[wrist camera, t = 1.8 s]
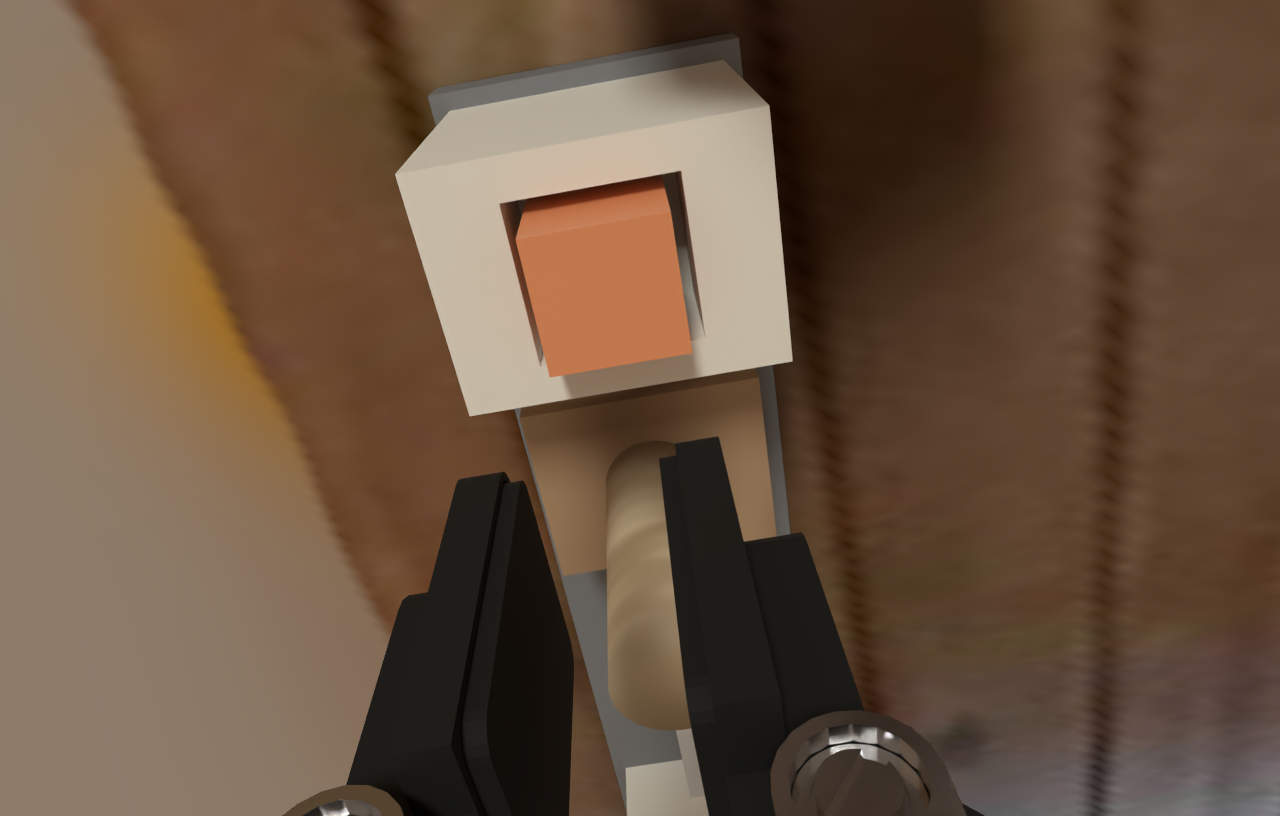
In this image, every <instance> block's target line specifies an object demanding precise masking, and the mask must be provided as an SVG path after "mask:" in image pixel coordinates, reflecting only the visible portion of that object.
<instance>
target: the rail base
mask: <svg viewBox="0 0 1280 816" xmlns="http://www.w3.org/2000/svg"><path fill="white" fill-rule="evenodd" d="M428 99H429V102H430V106H431V110H432V113H433V117H434V120H435V124H436V127H435V129H434V130H433V131H432V132H431V133H430V134H429V135H428V137H427V138H426V139H425V140H424V141H423V142H422V144H421V145H420V146H419V147H418V148H417V149H416V151H415V152H414V153H413V154H412V155H411V156H410V158H409V159H408V160H407V161H406V162H405V163H404V165H403V166H402V167H401V168H400V169H399V170H398V171H397V173H396V174H395V176H396V179H397V182H398V186H399V189H400V192H401V195H402V198H403V202H404V205H405V208H406V211H407V215H408V218H409V221H410V224H411V228H412V231H413V234H414V237H415V241H416V244H417V247H418V250H419V254H420V257H421V260H422V263H423V266H424V270H425V273H426V276H427V279H428V283H429V286H430V289H431V292H432V296H433V299H434V302H435V305H436V309H437V312H438V315H439V318H440V322H441V325H442V328H443V331H444V334H445V338H446V341H447V344H448V347H449V351H450V354H451V357H452V360H453V364H454V367H455V370H456V373H457V377H458V380H459V383H460V386H461V390H462V393H463V396H464V399H465V402H466V406H467V409H468V412H469V415H470V416H474V415H480V414H486V413H492V412H498V411H503V410H509V409H515V412H516V416H517V419H518V423H519V427H520V430H521V434H522V437H523V441H524V445H525V448H526V452H527V455H528V459H529V463H530V466H531V470H532V473H533V477H534V481H535V484H536V488H537V491H538V495H539V499H540V502H541V506H542V509H543V513H544V517H545V520H546V524H547V527H548V531H549V535H550V538H551V542H552V545H553V549H554V553H555V556H556V560H557V563H558V567H559V571H560V574H561V578H562V581H563V585H564V589H565V592H566V596H567V599H568V603H569V607H570V610H571V614H572V617H573V621H574V625H575V628H576V632H577V635H578V639H579V643H580V646H581V650H582V653H583V657H584V661H585V664H586V668H587V671H588V675H589V679H590V682H591V686H592V689H593V693H594V697H595V700H596V704H597V707H598V711H599V715H600V718H601V722H602V725H603V729H604V733H605V736H606V740H607V743H608V747H609V751H610V754H611V758H612V761H613V765H614V769H615V772H616V776H617V779H618V783H619V787H620V790H621V794H622V797H623V801H624V805H625V808H626V812H627V816H709V813H708V809H707V804H706V799H705V794H704V789H703V784H702V779H701V774H700V769H699V764H698V760H697V755H696V750H695V745H694V740H693V735H692V730H691V728H690V729H685V730H674V731H667V730H657V729H651V728H648V727H644V726H641V725H639V724H636V723H635V722H633V721H631V720H629V719H628V718H626V717H625V716H623V715H622V714H621V713H620V712H619V711H618V710H617V708H616V707H615V706H614V704H613V702H612V701H611V698H610V695H609V691H608V640H607V569H604V570H597V571H591V572H585V573H579V574H572V575H566V576H563V574H562V570H561V566H560V563H559V559H558V556H557V552H556V548H555V545H554V541H553V537H552V534H551V530H550V527H549V523H548V519H547V516H546V512H545V508H544V505H543V501H542V498H541V494H540V490H539V487H538V483H537V479H536V476H535V472H534V469H533V465H532V461H531V458H530V454H529V451H528V447H527V443H526V440H525V436H524V432H523V429H522V425H521V422H520V412H521V407H527V406H533V405H539V404H545V403H551V402H556V401H562V400H568V399H574V398H580V397H586V396H592V395H598V394H604V393H610V392H615V391H621V390H627V389H633V388H639V387H645V386H651V385H657V384H663V383H668V382H674V381H680V380H686V379H692V378H698V377H704V376H710V375H716V374H721V373H727V372H733V371H739V370H745V369H751V368H756V371H757V374H758V377H759V383H760V392H761V401H762V410H763V419H764V427H765V436H766V445H767V454H768V463H769V471H770V480H771V489H772V498H773V507H774V515H775V524H776V533H777V536H782V535H789V534H790V525H789V515H788V505H787V496H786V486H785V476H784V467H783V457H782V448H781V438H780V428H779V419H778V409H777V399H776V390H775V380H774V370H773V365H774V364H780V363H786V362H792V361H793V359H792V348H791V337H790V326H789V315H788V304H787V293H786V282H785V271H784V260H783V249H782V238H781V227H780V216H779V205H778V194H777V183H776V172H775V161H774V150H773V139H772V128H771V117H770V106H769V105H768V104H767V103H766V102H765V101H764V100H763V99H762V98H761V97H760V96H759V95H758V94H757V93H756V92H755V91H754V90H753V89H752V88H751V87H750V86H749V85H748V84H747V83H746V82H745V81H744V80H743V72H742V62H741V52H740V43H739V37H737V36H736V35H734V34H733V33H727V34H722V35H716V36H711V37H706V38H700V39H695V40H690V41H684V42H679V43H674V44H668V45H663V46H658V47H652V48H647V49H642V50H636V51H631V52H626V53H621V54H615V55H610V56H605V57H599V58H594V59H589V60H583V61H578V62H573V63H567V64H562V65H557V66H551V67H546V68H541V69H535V70H530V71H525V72H519V73H514V74H509V75H504V76H498V77H493V78H488V79H482V80H477V81H472V82H466V83H461V84H456V85H450V86H445V87H440V88H436V89H435V90H434V91H433V92H432V93H431V94H430V95H429V96H428ZM660 174H661V176H662V180H663V184H664V187H665V191H666V195H667V199H668V203H669V207H670V211H671V216H672V223H673V229H674V236H675V242H676V249H677V255H678V262H679V268H680V275H681V281H682V288H683V294H684V301H685V307H686V314H687V320H688V327H689V333H690V340H691V346H692V353H691V354H685V355H679V356H673V357H667V358H661V359H656V360H650V361H644V362H638V363H632V364H626V365H620V366H615V367H609V368H603V369H597V370H591V371H585V372H580V373H574V374H568V375H562V376H556V377H550V376H549V372H548V368H547V364H546V360H545V356H544V352H543V348H542V344H541V340H540V336H539V332H538V328H537V324H536V320H535V316H534V312H533V308H532V304H531V300H530V296H529V292H528V288H527V284H526V280H525V276H524V272H523V268H522V264H521V260H520V256H519V252H518V248H517V244H516V240H515V239H516V236H517V232H518V229H519V225H520V221H521V218H522V214H523V211H524V207H525V203H526V200H527V198H533V197H538V196H544V195H549V194H555V193H560V192H566V191H571V190H577V189H583V188H588V187H594V186H599V185H605V184H610V183H616V182H621V181H627V180H632V179H638V178H643V177H649V176H654V175H660Z"/></svg>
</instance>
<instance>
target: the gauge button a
mask: <svg viewBox="0 0 1280 816" xmlns="http://www.w3.org/2000/svg"><path fill="white" fill-rule="evenodd" d="M515 240H516V244H517V248H518V252H519V256H520V260H521V264H522V268H523V272H524V276H525V280H526V284H527V288H528V292H529V296H530V300H531V304H532V308H533V312H534V316H535V320H536V324H537V328H538V332H539V336H540V340H541V344H542V348H543V352H544V356H545V360H546V364H547V368H548V372H549V376H550V377H556V376H562V375H568V374H574V373H580V372H585V371H591V370H597V369H603V368H609V367H615V366H620V365H626V364H632V363H638V362H644V361H650V360H656V359H661V358H667V357H673V356H679V355H685V354H691V353H692V346H691V340H690V333H689V327H688V320H687V314H686V307H685V301H684V294H683V288H682V281H681V275H680V268H679V262H678V255H677V249H676V242H675V236H674V229H673V223H672V216H671V211H670V207H669V203H668V199H667V195H666V191H665V187H664V184H663V180H662V176H661V174H660V175H654V176H649V177H643V178H638V179H632V180H627V181H621V182H616V183H610V184H605V185H599V186H594V187H588V188H583V189H577V190H571V191H566V192H560V193H555V194H549V195H544V196H538V197H533V198H527V200H526V203H525V207H524V211H523V214H522V218H521V221H520V225H519V229H518V232H517V236H516V239H515Z"/></svg>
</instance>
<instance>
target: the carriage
mask: <svg viewBox="0 0 1280 816" xmlns="http://www.w3.org/2000/svg"><path fill="white" fill-rule="evenodd" d="M520 422H521V425H522V429H523V432H524V436H525V440H526V443H527V447H528V451H529V454H530V458H531V461H532V465H533V469H534V472H535V476H536V479H537V483H538V487H539V490H540V494H541V498H542V501H543V505H544V508H545V512H546V516H547V519H548V523H549V527H550V530H551V534H552V537H553V541H554V545H555V548H556V552H557V556H558V559H559V563H560V566H561V570H562V574H563V576H566V575H572V574H579V573H585V572H591V571H597V570H604V569H607V640H608V691H609V695H610V698H611V701H612V702H613V704H614V706H615V707H616V708H617V710H618V711H619V712H620V713H621V714H622V715H623V716H625V717H626V718H628V719H629V720H631V721H633V722H635V723H636V724H639V725H641V726H644V727H648V728H651V729H657V730H667V731H674V730H685V729H690V728H691V724H690V718H689V713H688V706H687V700H686V692H685V685H684V677H683V668H682V659H681V650H680V641H679V633H678V624H677V615H676V606H675V597H674V588H673V580H672V571H671V562H670V553H669V544H668V535H667V527H666V518H665V509H664V500H663V491H662V482H661V473H660V465H659V458H662V457H668V456H674V455H676V451H675V443H680V442H686V441H692V440H698V439H704V438H710V437H716V436H718V437H719V440H720V444H721V448H722V452H723V456H724V460H725V465H726V469H727V473H728V477H729V481H730V486H731V490H732V494H733V498H734V502H735V507H736V511H737V515H738V519H739V523H740V528H741V532H742V536H743V540H744V542H745V541H751V540H757V539H764V538H770V537H776V536H777V533H776V524H775V515H774V507H773V498H772V489H771V480H770V471H769V463H768V454H767V445H766V436H765V427H764V419H763V410H762V401H761V392H760V383H759V377H758V374H757V371H756V368H751V369H745V370H739V371H733V372H727V373H721V374H716V375H710V376H704V377H698V378H692V379H686V380H680V381H674V382H668V383H663V384H657V385H651V386H645V387H639V388H633V389H627V390H621V391H615V392H610V393H604V394H598V395H592V396H586V397H580V398H574V399H568V400H562V401H556V402H551V403H545V404H539V405H533V406H527V407H521V412H520Z"/></svg>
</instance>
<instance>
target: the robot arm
mask: <svg viewBox="0 0 1280 816" xmlns="http://www.w3.org/2000/svg"><path fill="white" fill-rule="evenodd" d="M675 451H676V455H674V456H668V457H662V458H659V465H660V473H661V482H662V491H663V500H664V509H665V518H666V527H667V535H668V544H669V553H670V562H671V571H672V580H673V588H674V597H675V606H676V615H677V624H678V633H679V641H680V650H681V659H682V668H683V677H684V685H685V692H686V700H687V706H688V713H689V718H690V724H691V730H692V735H693V740H694V745H695V750H696V755H697V760H698V764H699V769H700V774H701V779H702V784H703V789H704V794H705V799H706V804H707V809H708V813H709V816H984V815H982V814H981V813H979V812H977V811H975V810H973V809H971V808H970V807H968V806H966V805H964V804H962V803H961V800H960V798H959V796H958V794H957V791H956V789H955V787H954V785H953V782H952V780H951V778H950V776H949V773H948V771H947V769H946V766H945V765H944V763H943V762H942V760H941V759H940V757H939V756H938V754H937V753H936V751H935V749H934V748H933V746H932V745H931V744H930V743H929V742H928V741H927V740H925V739H924V738H923V737H922V736H921V735H920V734H918V733H917V732H916V731H915V730H914V729H913V728H911V727H909V726H907V725H905V724H903V723H901V722H899V721H897V720H895V719H893V718H891V717H889V716H886V715H881V714H876V713H872V712H867V711H864V708H863V705H862V702H861V699H860V696H859V693H858V690H857V687H856V684H855V682H854V679H853V676H852V673H851V670H850V667H849V664H848V661H847V658H846V655H845V652H844V649H843V646H842V644H841V641H840V638H839V635H838V632H837V629H836V626H835V623H834V620H833V617H832V614H831V611H830V608H829V606H828V603H827V600H826V597H825V594H824V591H823V588H822V585H821V582H820V579H819V576H818V573H817V570H816V568H815V565H814V562H813V559H812V556H811V553H810V550H809V547H808V544H807V542H806V539H805V537H804V535H803V534H802V533H795V534H789V535H782V536H776V537H770V538H764V539H757V540H751V541H745V542H744V540H743V536H742V532H741V528H740V523H739V519H738V515H737V511H736V507H735V502H734V498H733V494H732V490H731V486H730V481H729V477H728V473H727V469H726V465H725V460H724V456H723V452H722V448H721V444H720V440H719V437H718V436H716V437H710V438H704V439H698V440H692V441H686V442H680V443H675ZM573 682H574V662H573V652H572V646H571V642H570V638H569V634H568V631H567V627H566V623H565V620H564V616H563V613H562V609H561V606H560V602H559V599H558V595H557V592H556V588H555V585H554V581H553V578H552V574H551V571H550V567H549V564H548V560H547V557H546V553H545V550H544V546H543V543H542V539H541V536H540V532H539V529H538V525H537V521H536V518H535V514H534V511H533V507H532V504H531V500H530V497H529V493H528V490H527V487H526V485H525V483H524V482H523V481H517V482H511V483H510V480H509V478H508V476H507V474H506V473H504V472H500V473H494V474H488V475H482V476H476V477H470V478H464V479H460V480H458V482H457V484H456V488H455V491H454V495H453V499H452V503H451V507H450V511H449V514H448V518H447V522H446V526H445V530H444V533H443V537H442V541H441V545H440V549H439V553H438V556H437V560H436V564H435V568H434V572H433V575H432V579H431V583H430V587H429V591H428V592H427V593H421V594H415V595H408V596H407V597H406V598H405V599H404V600H403V601H402V603H401V606H400V608H399V610H398V614H397V617H396V620H395V624H394V627H393V630H392V634H391V637H390V640H389V644H388V647H387V650H386V654H385V657H384V660H383V664H382V667H381V671H380V674H379V677H378V681H377V684H376V687H375V691H374V694H373V697H372V701H371V704H370V708H369V711H368V714H367V717H366V721H365V724H364V727H363V731H362V734H361V738H360V741H359V744H358V747H357V751H356V754H355V757H354V761H353V764H352V767H351V771H350V774H349V778H348V781H347V784H346V785H345V786H340V787H336V788H333V789H329V790H325V791H322V792H320V793H318V794H316V795H314V796H312V797H310V798H308V799H306V800H304V801H302V802H300V803H298V804H296V805H295V806H294V807H293V808H291V809H290V810H289V811H288V812H286V813H285V814H284V815H283V816H569V795H570V767H571V739H572V710H573Z"/></svg>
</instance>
